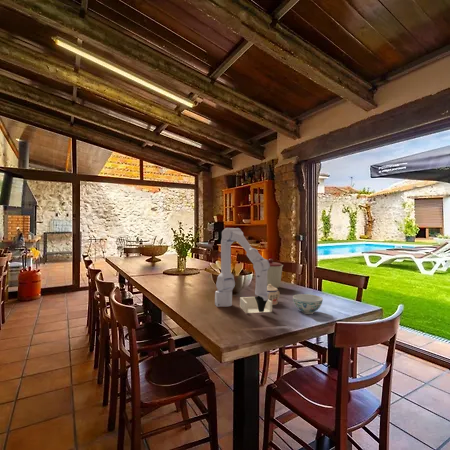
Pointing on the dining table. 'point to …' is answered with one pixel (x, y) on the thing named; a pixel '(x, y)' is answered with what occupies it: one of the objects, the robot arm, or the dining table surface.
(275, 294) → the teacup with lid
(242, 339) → the dining table surface
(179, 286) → the dining table surface
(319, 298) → the chinaware
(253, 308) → the box
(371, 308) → the dining table surface
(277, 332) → the dining table surface
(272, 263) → the canister
